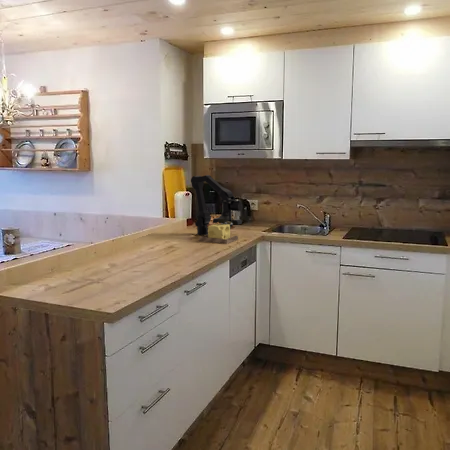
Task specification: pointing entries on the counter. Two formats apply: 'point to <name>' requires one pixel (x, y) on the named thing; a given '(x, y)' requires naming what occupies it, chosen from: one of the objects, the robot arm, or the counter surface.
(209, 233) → the cheese
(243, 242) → the counter surface
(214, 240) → the bay
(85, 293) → the counter surface
